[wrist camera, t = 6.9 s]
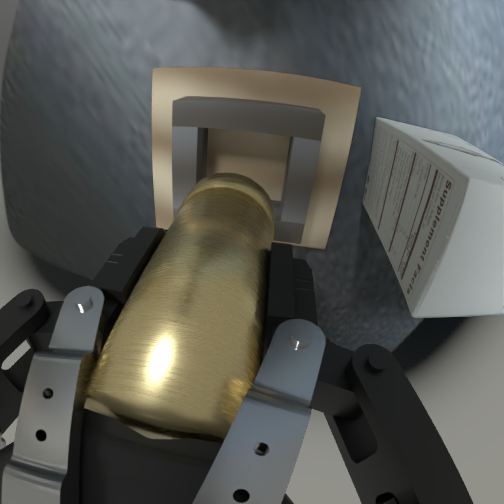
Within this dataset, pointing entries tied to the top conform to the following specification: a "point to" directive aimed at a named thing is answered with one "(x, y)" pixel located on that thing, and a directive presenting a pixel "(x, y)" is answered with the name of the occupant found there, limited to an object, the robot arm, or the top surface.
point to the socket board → (254, 141)
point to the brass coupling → (193, 319)
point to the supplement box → (438, 219)
